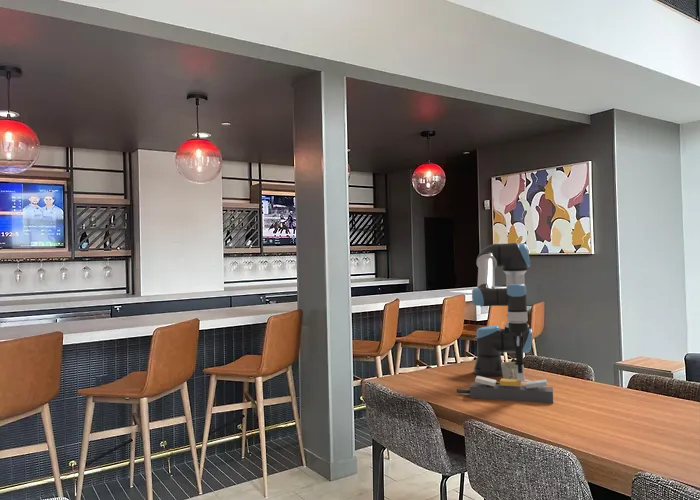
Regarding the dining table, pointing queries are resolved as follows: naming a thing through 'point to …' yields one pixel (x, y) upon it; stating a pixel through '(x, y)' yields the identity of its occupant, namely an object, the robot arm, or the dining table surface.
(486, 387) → the power strip
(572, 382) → the dining table surface
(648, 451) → the dining table surface
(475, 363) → the robot arm
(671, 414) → the dining table surface
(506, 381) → the block
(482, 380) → the block
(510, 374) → the mug
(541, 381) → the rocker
